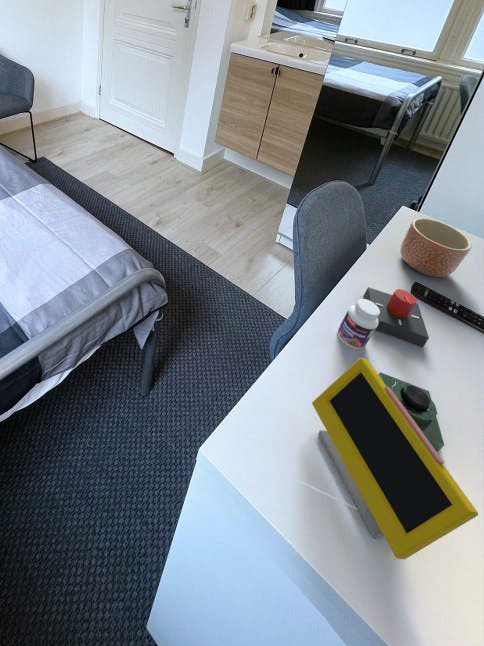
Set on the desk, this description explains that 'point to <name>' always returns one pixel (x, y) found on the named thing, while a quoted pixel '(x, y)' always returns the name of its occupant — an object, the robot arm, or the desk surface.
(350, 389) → the yellow framed monitor
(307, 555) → the desk surface
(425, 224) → the planter
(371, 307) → the pill bottle
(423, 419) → the vent housing
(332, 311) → the desk surface
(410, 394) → the vent button
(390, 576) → the desk surface
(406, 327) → the handle block
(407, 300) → the dial
